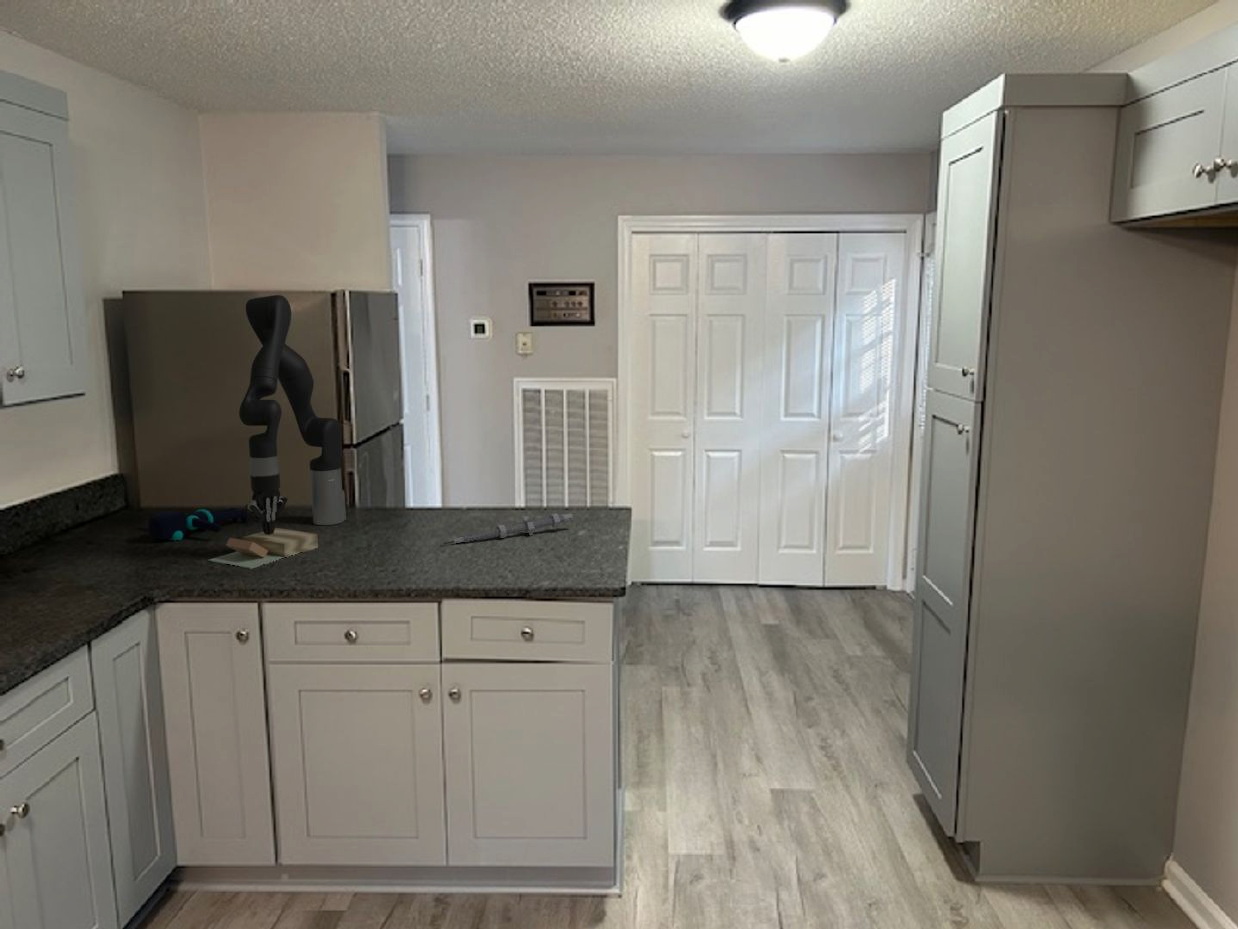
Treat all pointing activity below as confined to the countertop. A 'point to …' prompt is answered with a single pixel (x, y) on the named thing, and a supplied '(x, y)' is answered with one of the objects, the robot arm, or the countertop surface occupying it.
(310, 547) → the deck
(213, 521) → the toy
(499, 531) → the adjustable rod
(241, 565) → the mat
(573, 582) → the countertop surface
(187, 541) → the countertop surface
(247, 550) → the tile
